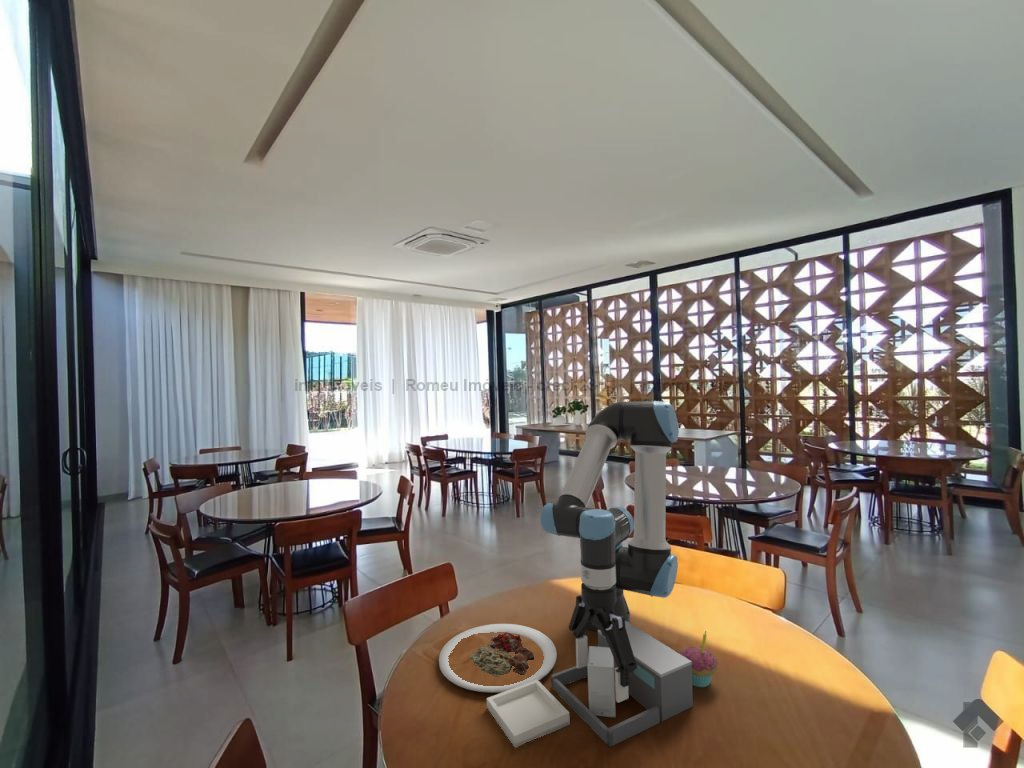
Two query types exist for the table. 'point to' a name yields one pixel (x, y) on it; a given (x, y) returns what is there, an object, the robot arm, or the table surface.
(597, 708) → the small box
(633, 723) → the printer
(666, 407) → the robot arm
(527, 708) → the tray
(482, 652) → the plated food
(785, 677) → the table surface
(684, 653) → the cupcake
